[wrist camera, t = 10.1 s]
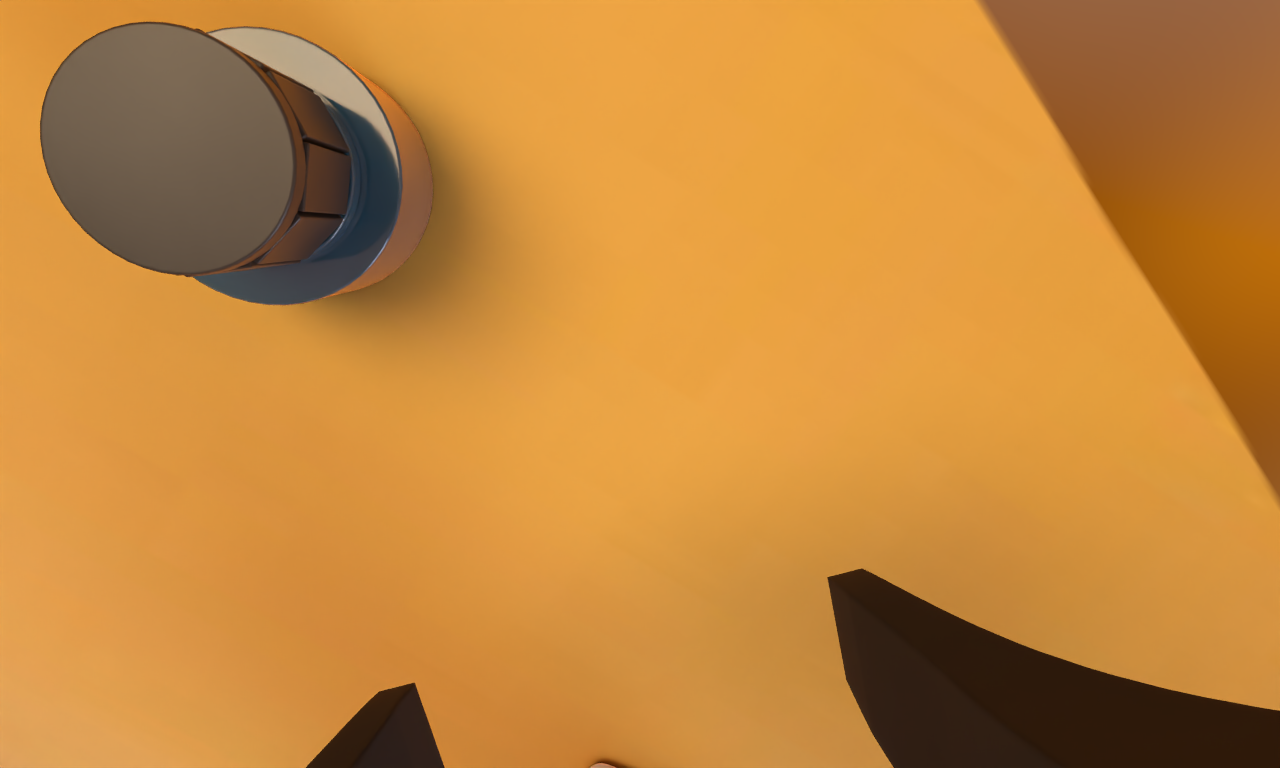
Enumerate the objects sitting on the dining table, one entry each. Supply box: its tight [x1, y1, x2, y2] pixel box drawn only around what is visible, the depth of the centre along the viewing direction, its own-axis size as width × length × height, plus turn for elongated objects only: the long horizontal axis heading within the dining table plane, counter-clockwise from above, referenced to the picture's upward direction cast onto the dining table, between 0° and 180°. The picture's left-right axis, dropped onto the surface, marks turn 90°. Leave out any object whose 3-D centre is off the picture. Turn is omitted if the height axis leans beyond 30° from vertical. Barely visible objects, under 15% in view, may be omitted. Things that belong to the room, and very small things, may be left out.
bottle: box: [193, 26, 433, 305], centre depth 16 cm, size 6×6×6 cm
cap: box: [40, 22, 351, 277], centre depth 13 cm, size 4×4×3 cm
